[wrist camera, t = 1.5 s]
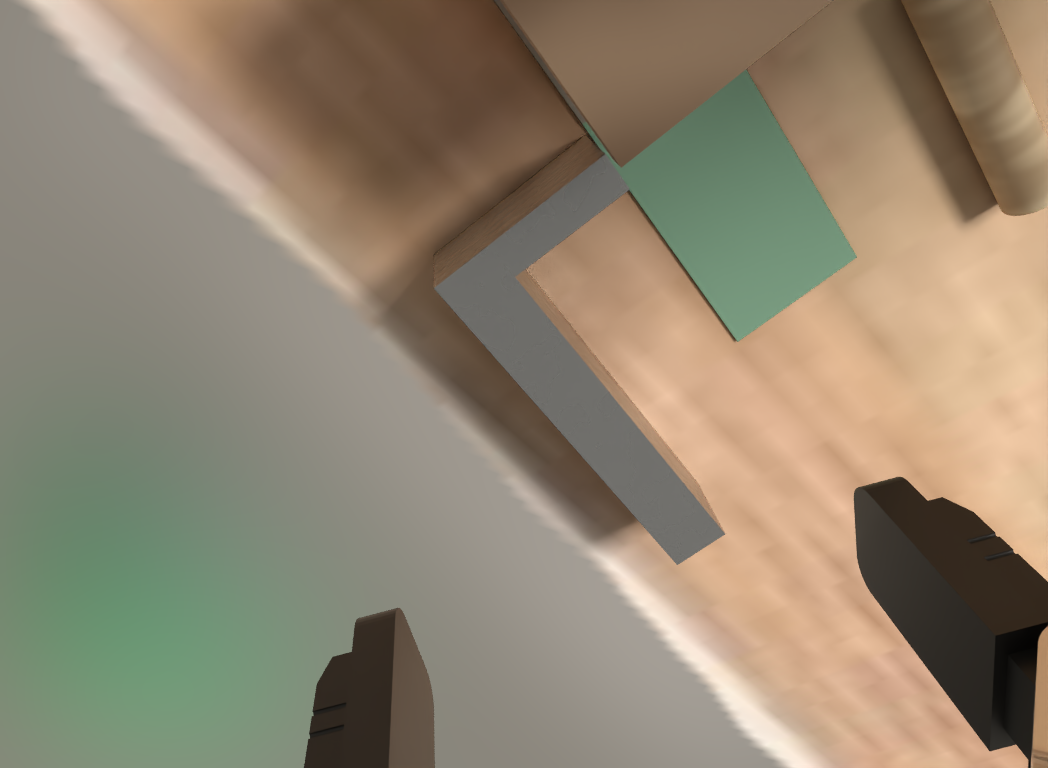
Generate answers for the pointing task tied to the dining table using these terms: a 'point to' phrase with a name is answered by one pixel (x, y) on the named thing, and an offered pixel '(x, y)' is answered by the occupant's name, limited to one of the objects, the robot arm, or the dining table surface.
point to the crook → (569, 344)
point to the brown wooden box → (651, 56)
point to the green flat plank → (733, 204)
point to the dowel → (987, 98)
